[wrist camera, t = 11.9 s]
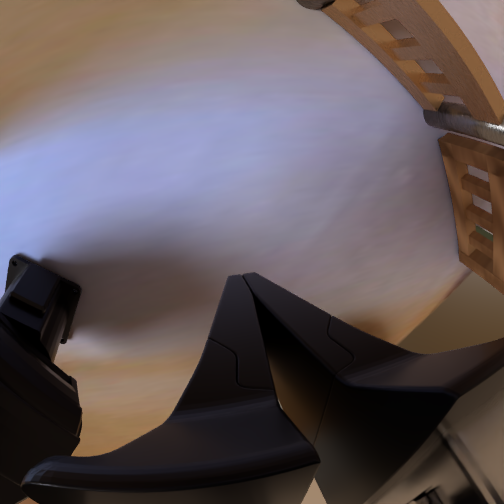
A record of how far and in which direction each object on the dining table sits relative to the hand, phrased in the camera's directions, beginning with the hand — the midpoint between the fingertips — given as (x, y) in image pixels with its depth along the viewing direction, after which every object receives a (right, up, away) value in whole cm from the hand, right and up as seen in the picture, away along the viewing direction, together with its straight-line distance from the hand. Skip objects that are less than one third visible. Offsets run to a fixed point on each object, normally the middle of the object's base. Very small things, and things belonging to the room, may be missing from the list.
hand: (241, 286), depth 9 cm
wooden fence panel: (+10, +16, +9) cm, 21 cm away
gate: (+21, +6, +16) cm, 27 cm away
